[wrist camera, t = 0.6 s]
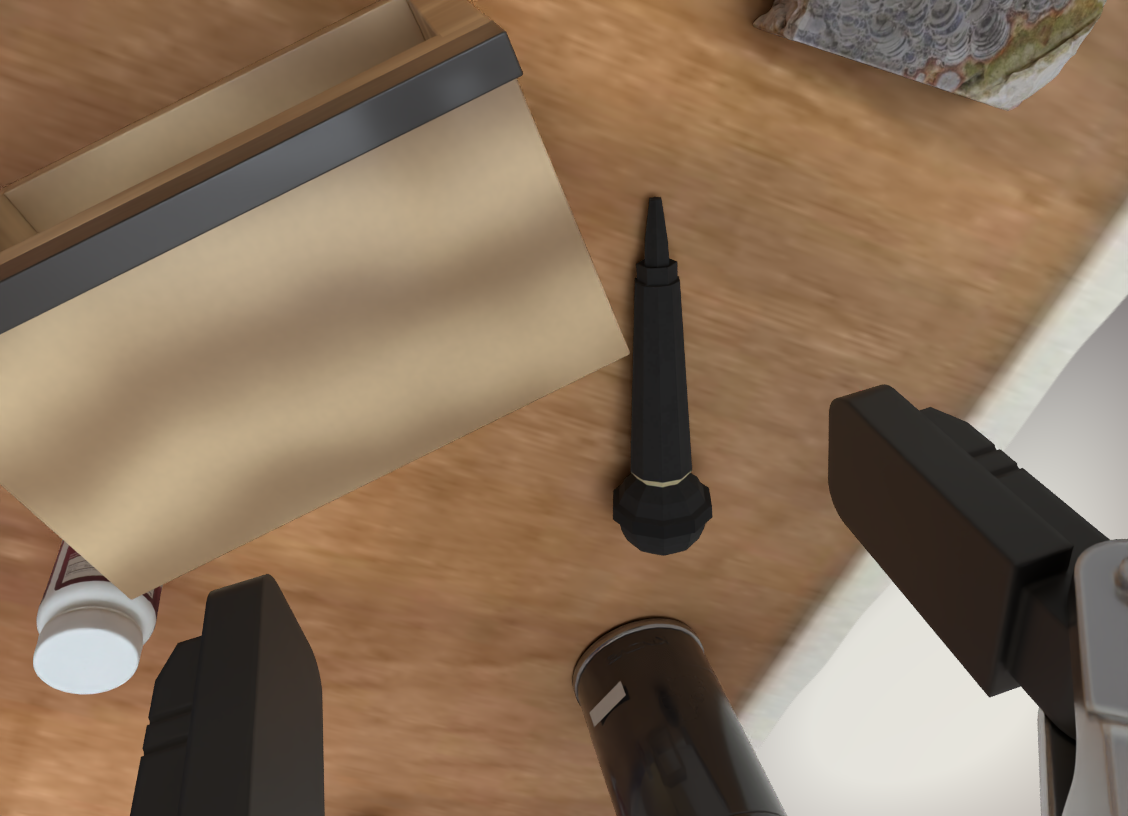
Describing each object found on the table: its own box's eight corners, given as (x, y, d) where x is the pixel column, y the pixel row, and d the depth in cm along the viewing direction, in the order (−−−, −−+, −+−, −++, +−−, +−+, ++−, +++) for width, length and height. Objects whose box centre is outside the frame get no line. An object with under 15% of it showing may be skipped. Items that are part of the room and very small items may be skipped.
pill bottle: (134, 583, 44) (104, 715, 37) (46, 543, 41) (-4, 676, 35) (192, 527, 43) (172, 651, 36) (105, 481, 41) (66, 606, 34)
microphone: (598, 188, 42) (615, 518, 51) (595, 216, 37) (614, 578, 46) (708, 182, 42) (705, 516, 51) (720, 210, 37) (715, 576, 46)
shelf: (549, 233, 40) (647, 379, 28) (172, 420, 40) (122, 639, 29) (435, -28, 33) (506, 30, 21) (-23, 200, 33) (-192, 376, 22)
